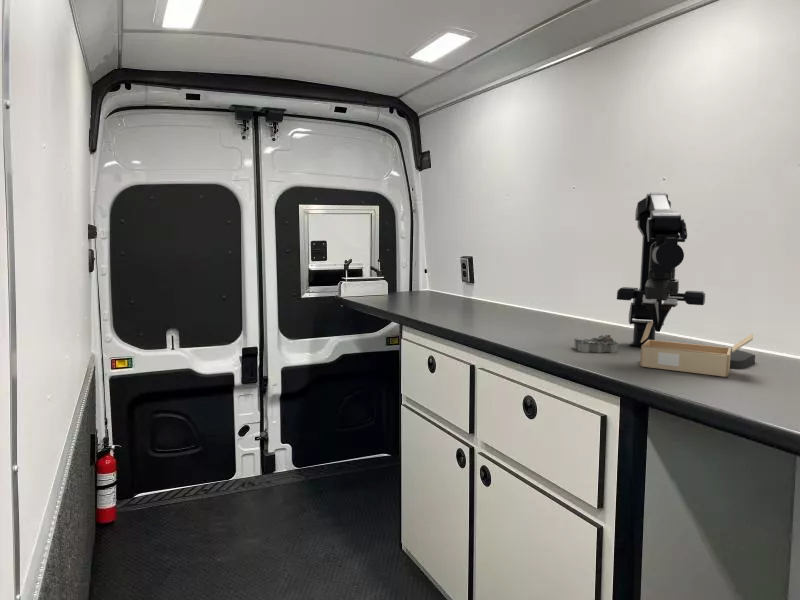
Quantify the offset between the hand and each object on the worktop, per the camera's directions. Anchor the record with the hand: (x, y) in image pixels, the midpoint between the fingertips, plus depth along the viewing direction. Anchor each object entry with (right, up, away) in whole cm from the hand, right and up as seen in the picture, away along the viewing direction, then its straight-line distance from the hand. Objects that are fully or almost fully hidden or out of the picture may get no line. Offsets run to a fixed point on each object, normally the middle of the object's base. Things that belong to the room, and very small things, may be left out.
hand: (657, 331), depth 137 cm
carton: (+5, -8, -3) cm, 10 cm away
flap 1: (-3, -2, +2) cm, 4 cm away
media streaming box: (+18, -8, +6) cm, 21 cm away
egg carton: (-9, -6, +18) cm, 21 cm away
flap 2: (+13, -4, -8) cm, 16 cm away
